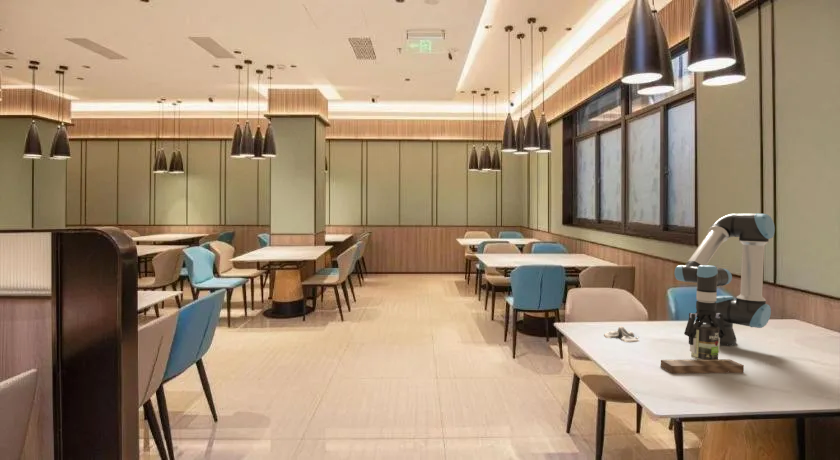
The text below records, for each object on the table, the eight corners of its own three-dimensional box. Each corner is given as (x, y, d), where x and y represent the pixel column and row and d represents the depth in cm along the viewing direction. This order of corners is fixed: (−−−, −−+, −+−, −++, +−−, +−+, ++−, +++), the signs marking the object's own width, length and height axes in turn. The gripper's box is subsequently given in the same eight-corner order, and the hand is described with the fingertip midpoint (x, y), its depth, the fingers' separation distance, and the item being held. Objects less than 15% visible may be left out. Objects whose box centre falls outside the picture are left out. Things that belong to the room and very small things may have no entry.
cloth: (636, 345, 237) (636, 332, 236) (598, 338, 248) (598, 327, 248) (647, 336, 254) (648, 324, 254) (611, 330, 265) (612, 319, 265)
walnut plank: (729, 366, 203) (729, 359, 203) (743, 372, 195) (743, 365, 195) (660, 366, 201) (660, 359, 201) (671, 373, 193) (671, 365, 193)
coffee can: (723, 359, 207) (724, 327, 206) (709, 363, 202) (710, 329, 201) (700, 353, 216) (701, 322, 215) (685, 356, 211) (686, 324, 210)
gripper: (725, 299, 212) (723, 349, 213) (675, 299, 211) (674, 349, 212) (737, 302, 205) (735, 354, 206) (686, 302, 204) (684, 354, 204)
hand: (704, 351), depth 209 cm, fingers closed on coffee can, 10 cm apart
